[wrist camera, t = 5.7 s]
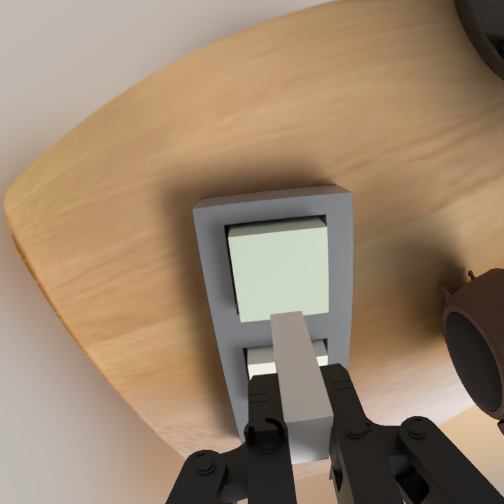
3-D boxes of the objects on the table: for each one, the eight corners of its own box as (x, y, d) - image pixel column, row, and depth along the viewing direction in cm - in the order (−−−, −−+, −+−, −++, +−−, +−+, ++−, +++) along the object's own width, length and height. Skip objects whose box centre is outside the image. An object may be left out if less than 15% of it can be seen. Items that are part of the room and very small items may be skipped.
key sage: (317, 216, 22) (327, 226, 20) (320, 293, 25) (328, 312, 22) (230, 225, 23) (228, 237, 20) (241, 302, 25) (240, 322, 22)
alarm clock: (418, 272, 27) (550, 411, 8) (470, 240, 26) (611, 339, 7) (436, 364, 32) (510, 484, 13) (479, 336, 30) (564, 438, 12)
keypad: (337, 184, 24) (352, 192, 21) (331, 429, 35) (336, 452, 31) (200, 198, 25) (192, 208, 21) (246, 439, 35) (246, 463, 31)
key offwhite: (320, 334, 26) (327, 355, 23) (319, 385, 28) (325, 406, 25) (247, 342, 26) (247, 364, 23) (255, 392, 28) (256, 414, 25)
